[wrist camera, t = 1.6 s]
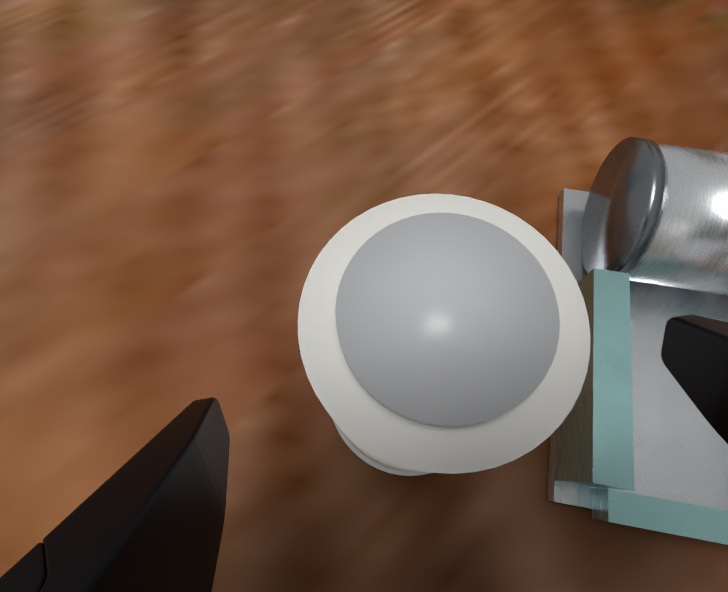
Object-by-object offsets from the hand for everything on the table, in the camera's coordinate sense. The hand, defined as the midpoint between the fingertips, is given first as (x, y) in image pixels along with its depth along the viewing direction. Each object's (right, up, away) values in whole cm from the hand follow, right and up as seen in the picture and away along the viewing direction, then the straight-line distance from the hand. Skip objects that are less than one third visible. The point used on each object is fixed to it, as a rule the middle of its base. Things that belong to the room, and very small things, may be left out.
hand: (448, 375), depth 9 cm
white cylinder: (0, -2, +9) cm, 9 cm away
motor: (+11, -1, +9) cm, 14 cm away
